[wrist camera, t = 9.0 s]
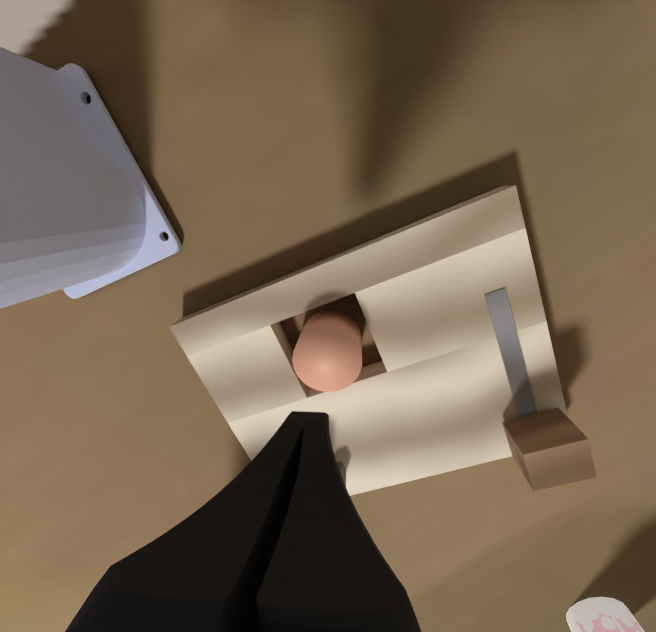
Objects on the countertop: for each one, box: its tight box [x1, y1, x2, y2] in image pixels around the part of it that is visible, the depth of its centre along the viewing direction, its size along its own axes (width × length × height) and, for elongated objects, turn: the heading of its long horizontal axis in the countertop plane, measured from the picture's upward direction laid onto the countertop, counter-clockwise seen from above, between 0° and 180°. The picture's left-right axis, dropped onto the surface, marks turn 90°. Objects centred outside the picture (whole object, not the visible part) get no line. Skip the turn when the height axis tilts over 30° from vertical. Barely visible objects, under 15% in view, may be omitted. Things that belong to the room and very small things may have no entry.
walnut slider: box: [502, 407, 596, 491], centre depth 17 cm, size 2×3×2 cm
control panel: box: [169, 185, 568, 496], centre depth 19 cm, size 15×19×3 cm
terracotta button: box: [292, 310, 362, 392], centre depth 18 cm, size 4×4×3 cm
